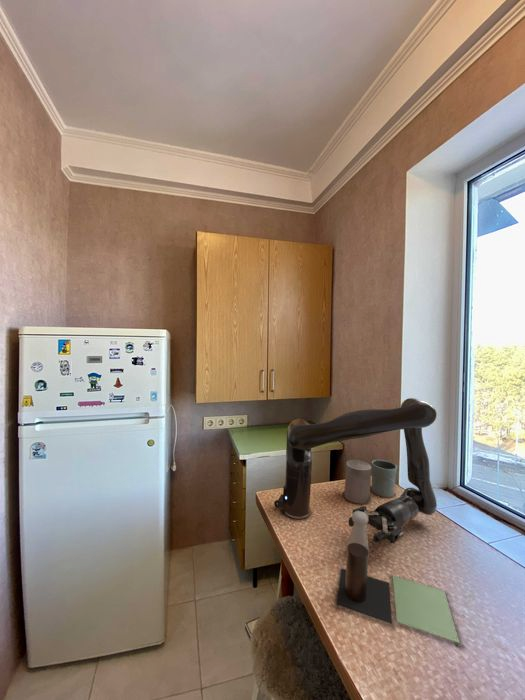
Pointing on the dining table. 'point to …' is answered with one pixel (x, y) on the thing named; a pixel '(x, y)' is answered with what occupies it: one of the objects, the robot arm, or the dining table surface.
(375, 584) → the dark mat
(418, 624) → the sage mat
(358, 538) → the salt shaker
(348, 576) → the dark brown cylinder
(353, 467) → the pillar candle
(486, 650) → the dining table surface
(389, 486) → the grey-green plant pot
